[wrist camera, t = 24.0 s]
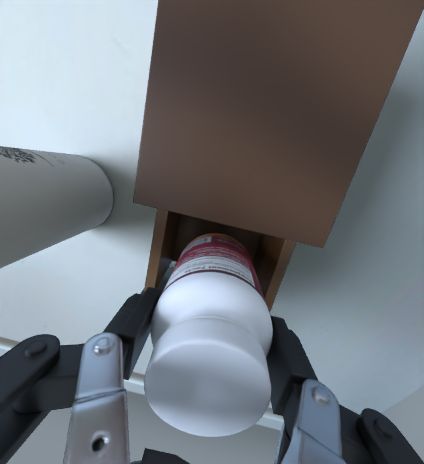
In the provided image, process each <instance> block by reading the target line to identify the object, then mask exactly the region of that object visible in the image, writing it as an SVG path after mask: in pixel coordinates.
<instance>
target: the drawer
mask: <svg viewBox="0 0 424 464" xmlns="http://www.w3.org/2000/svg"><path fill="white" fill-rule="evenodd" d="M211 233H218V234H224V235H228V236H230V237H232V238H234V239H236V240H237V241H239V242H240V243H241V244H242V245H243V246H244V247H245V249H246V250H247V252H248V254H249V256H250V258H251V261H252V264H253V267H254V270H255V273H256V276H257V279H258V282H259V284H260V287H261V290H262V293H263V296H264V298H265V301H266V304H267V307H268V310H269V313H270V311H271V308H272V305H273V303H274V300H275V297H276V295H277V292H278V289H279V287H280V284H281V281H282V279H283V276H284V273H285V271H286V268H287V266H288V263H289V260H290V258H291V255H292V252H293V250H294V247H295V244H296V242H295V241H290V240H286V239H282V238H278V237H274V236H270V235H266V234H262V233H257V232H253V231H249V230H245V229H241V228H237V227H233V226H228V225H224V224H220V223H216V222H212V221H208V220H204V219H200V218H195V217H191V216H187V215H183V214H179V213H175V212H171V211H167V210H162V209H158V208H157V214H156V220H155V226H154V233H153V239H152V245H151V251H150V257H149V264H148V270H147V276H146V282H145V288H144V289H143V291H142V292H141V295H143V294H144V292H145V291H146V289H147V288H148V287H152V288H157V289H161V294H162V292H163V290H164V288H165V286H166V284H167V282H168V280H169V278H170V276H171V274H172V272H173V270H174V268H173V267H169V266H170V264H171V263H172V261H176V262H178V260H179V258H180V256H181V254H182V252H183V250H184V249H185V248H186V246H187V245H188V244H189V243H190V242H191V241H193V240H194V239H196V238H197V237H200V236H202V235H205V234H211Z"/></svg>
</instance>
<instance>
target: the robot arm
mask: <svg viewBox="0 0 424 464" xmlns="http://www.w3.org/2000/svg"><path fill="white" fill-rule="evenodd" d="M160 296H161V289H157V288H152V287H148V288H147V289H146V291H145V292H144V294H143V295H141V294H137V293H136V294H134V295H133V296H131V297H129V298H128V299H127V300H126V302H125V303H124V304H123V306H122V307H121V308H120V310H119V311H118V312H117V314H116V315H115V316H114V318H113V319H112V320H111V322H110V323H109V324H108V326H107V327H106V328H105V330H104V331H103V332H102V333H100V334H97V335H95V336H93V337H91V338H90V339H89V340H88V341H87V342H86V343H84V344H78V345H60V341H59V339H58V338H57V337H56V336H54V335H49V334H42V335H36V336H33V337H30V338H28V339H25V340H24V341H22V342H20V343H19V344H18V345H16V346H15V347H13V348H12V349H11V350H9V351H8V352H6V353H5V354H4V355H2V356H1V357H0V464H6V463H7V462H8V461H9V459H10V458H11V457H12V456H13V455H14V454H15V452H16V451H17V450H18V449H19V448H20V447H21V445H22V444H23V443H24V442H25V441H26V439H27V438H28V437H29V436H30V434H31V433H32V432H33V431H34V430H35V429H36V427H37V426H38V425H39V424H40V423H41V422H42V420H43V419H44V418H45V417H46V416H47V415H48V413H49V412H50V411H51V410H56V409H63V408H70V407H72V411H71V417H70V423H69V429H68V436H67V441H66V448H65V453H64V460H63V464H190V463H188V462H186V461H185V460H183V459H181V458H180V457H178V456H177V455H174V454H169V453H165V452H160V451H156V450H151V449H147V448H145V450H144V454H143V457H142V460H140V461H134V462H131V463H130V452H129V431H128V413H127V412H128V410H127V393H126V389H124V379H125V380H129V378H130V376H131V373H132V371H133V369H134V367H135V364H136V362H137V360H138V358H139V356H140V353H141V351H142V349H143V347H144V344H145V342H146V340H147V338H148V336H149V333H150V331H151V330H150V326H151V319H152V314H153V312H154V309H155V307H156V304H157V302H158V300H159V298H160ZM270 317H271V321H272V328H273V335H272V343H271V347H270V350H269V353H268V355H267V357H266V361H267V367H268V372H269V378H270V383H271V404H272V409H273V413H274V414H277V415H281V416H283V418H284V424H283V426H282V429H281V433H280V438H279V443H278V448H277V453H276V459H275V463H274V464H424V462H423V461H422V460H421V458H420V457H419V456H418V454H417V453H416V452H415V450H414V449H413V448H412V446H411V445H410V444H409V443H408V441H407V440H406V439H405V437H404V436H403V435H402V433H401V432H400V431H399V430H398V428H397V427H396V426H395V425H394V424H393V423H392V422H391V421H390V420H389V419H388V418H387V417H385V416H384V415H382V414H381V413H379V412H378V411H376V410H373V409H369V408H366V409H364V410H363V411H362V413H361V414H360V415H358V414H357V413H355V412H353V411H351V410H349V409H347V408H345V407H343V406H341V405H340V404H339V403H338V401H337V399H336V397H335V395H334V394H333V393H332V392H331V390H330V389H329V388H328V387H326V386H325V385H324V384H322V383H321V382H319V381H318V379H317V377H316V375H315V373H314V370H313V368H312V366H311V364H310V362H309V359H308V357H307V356H306V353H305V351H304V349H303V346H302V344H301V342H300V340H299V338H298V337H297V336H296V334H295V333H294V332H293V331H292V330H289V329H288V327H287V325H286V323H285V320H284V319H283V318H279V317H274V316H270Z"/></svg>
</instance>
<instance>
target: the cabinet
mask: <svg viewBox="0 0 424 464" xmlns="http://www.w3.org/2000/svg"><path fill="white" fill-rule="evenodd" d="M423 9H424V0H158V8H157V16H156V24H155V32H154V40H153V48H152V56H151V64H150V72H149V80H148V87H147V95H146V103H145V111H144V119H143V127H142V135H141V143H140V151H139V159H138V167H137V175H136V183H135V191H134V199H133V202H134V203H138V204H142V205H146V206H150V207H154V208H158V209H162V210H167V211H171V212H175V213H179V214H183V215H187V216H191V217H195V218H200V219H204V220H208V221H212V222H216V223H220V224H224V225H228V226H233V227H237V228H241V229H245V230H249V231H253V232H257V233H262V234H266V235H270V236H274V237H278V238H282V239H286V240H290V241H295V242H299V243H303V244H307V245H311V246H315V247H319V248H323V247H324V245H325V242H326V240H327V238H328V235H329V233H330V230H331V228H332V226H333V223H334V221H335V218H336V216H337V214H338V211H339V209H340V207H341V204H342V202H343V199H344V197H345V195H346V192H347V190H348V188H349V185H350V183H351V180H352V178H353V176H354V173H355V171H356V168H357V166H358V164H359V161H360V159H361V157H362V154H363V152H364V149H365V147H366V145H367V142H368V140H369V138H370V135H371V133H372V130H373V128H374V126H375V123H376V121H377V119H378V116H379V114H380V111H381V109H382V107H383V104H384V102H385V99H386V97H387V95H388V92H389V90H390V88H391V85H392V83H393V80H394V78H395V76H396V73H397V71H398V69H399V66H400V64H401V61H402V59H403V57H404V54H405V52H406V49H407V47H408V45H409V42H410V40H411V38H412V35H413V33H414V30H415V28H416V26H417V23H418V21H419V19H420V16H421V14H422V11H423Z"/></svg>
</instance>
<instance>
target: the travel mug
mask: <svg viewBox="0 0 424 464" xmlns="http://www.w3.org/2000/svg"><path fill="white" fill-rule="evenodd" d="M113 200H114V198H113V190H112V186H111V184H110V181H109V179H108V177H107V176H106V174H105V173H104V172H103V170H102V169H101V168H100V167H99V166H98V165H97V164H95V163H94V162H92V161H91V160H89V159H87V158H85V157H82V156H78V155H72V154H63V153H54V152H45V151H37V150H28V149H19V148H10V147H2V146H0V268H2V267H4V266H6V265H9V264H11V263H13V262H16V261H18V260H20V259H23V258H25V257H27V256H29V255H32V254H34V253H36V252H39V251H41V250H43V249H45V248H48V247H50V246H52V245H55V244H57V243H59V242H62V241H64V240H66V239H68V238H71V237H73V236H75V235H78V234H80V233H82V232H84V231H87V230H89V229H91V228H94V227H96V226H98V225H100V224H101V223H103V222H104V221H105V220H106V219H107V218H108V216H109V215H110V213H111V210H112V207H113Z"/></svg>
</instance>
